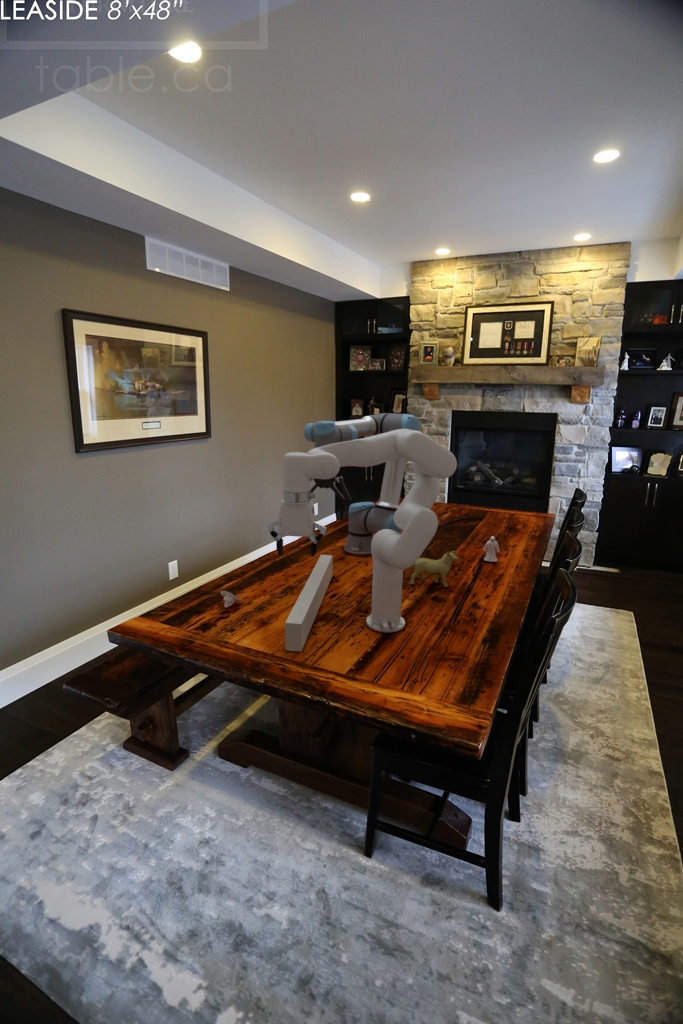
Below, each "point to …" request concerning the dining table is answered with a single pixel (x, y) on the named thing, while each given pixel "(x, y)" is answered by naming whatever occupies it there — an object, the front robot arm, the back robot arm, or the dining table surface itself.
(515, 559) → the dining table surface
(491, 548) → the figurine
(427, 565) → the toy
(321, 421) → the back robot arm
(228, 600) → the seashell
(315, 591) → the beam
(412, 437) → the front robot arm
